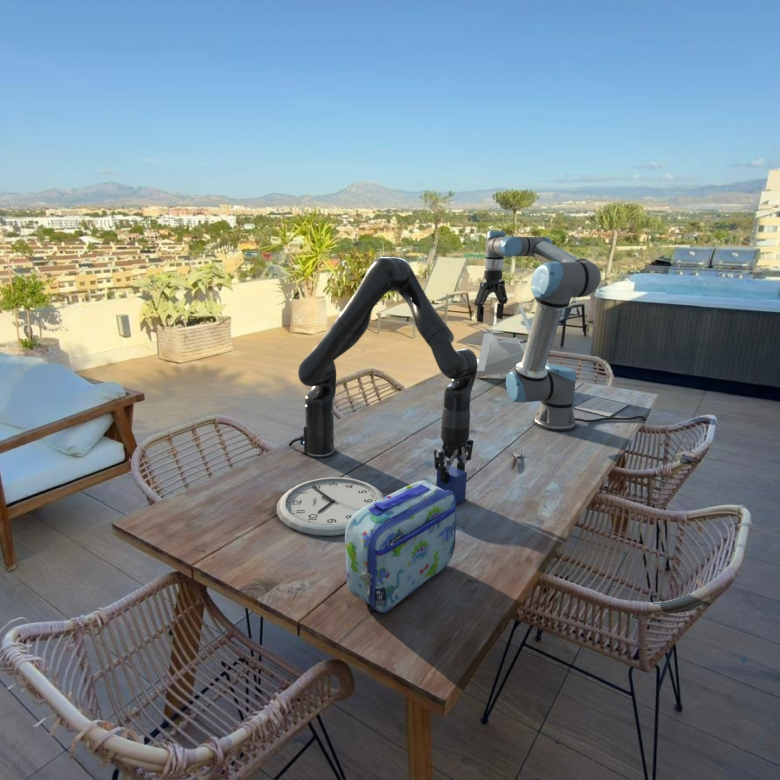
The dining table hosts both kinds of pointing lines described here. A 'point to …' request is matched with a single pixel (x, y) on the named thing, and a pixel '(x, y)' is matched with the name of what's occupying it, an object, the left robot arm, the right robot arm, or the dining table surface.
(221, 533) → the dining table surface
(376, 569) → the lunch box
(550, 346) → the right robot arm
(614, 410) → the invitation card
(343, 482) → the wall clock
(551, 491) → the dining table surface
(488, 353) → the white plastic object
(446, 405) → the left robot arm
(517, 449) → the fork
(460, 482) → the block
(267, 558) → the dining table surface
